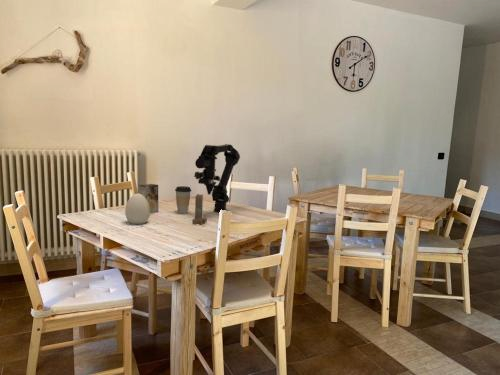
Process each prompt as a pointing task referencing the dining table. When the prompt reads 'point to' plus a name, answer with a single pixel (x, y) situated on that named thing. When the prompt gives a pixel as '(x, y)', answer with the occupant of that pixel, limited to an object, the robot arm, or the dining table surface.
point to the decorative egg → (137, 209)
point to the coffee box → (150, 195)
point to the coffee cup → (182, 199)
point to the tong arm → (202, 203)
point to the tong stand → (198, 212)
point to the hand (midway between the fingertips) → (209, 194)
